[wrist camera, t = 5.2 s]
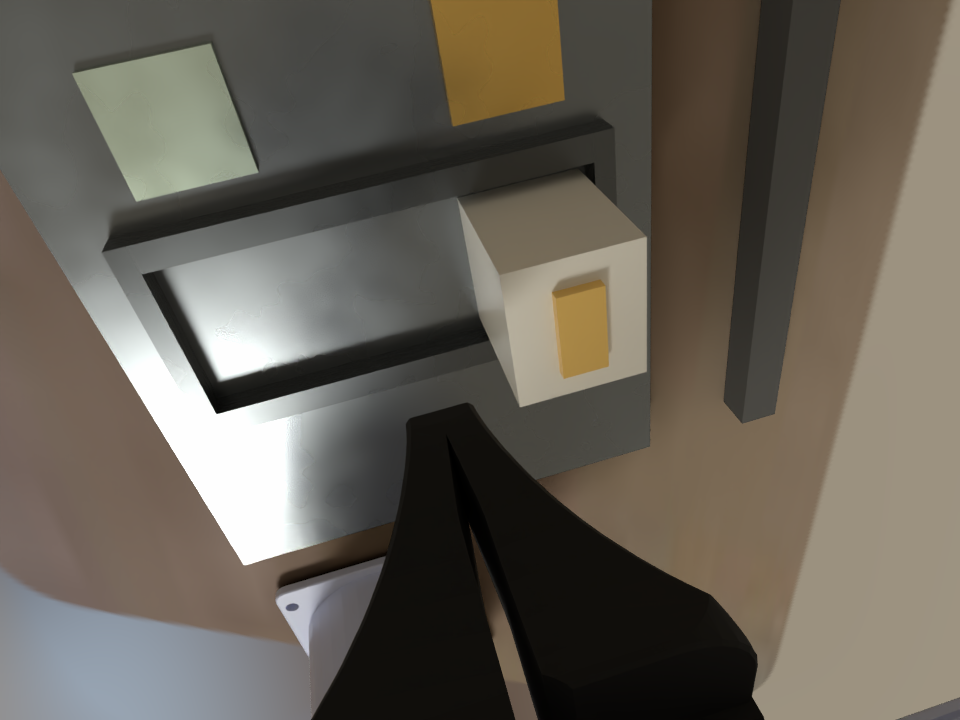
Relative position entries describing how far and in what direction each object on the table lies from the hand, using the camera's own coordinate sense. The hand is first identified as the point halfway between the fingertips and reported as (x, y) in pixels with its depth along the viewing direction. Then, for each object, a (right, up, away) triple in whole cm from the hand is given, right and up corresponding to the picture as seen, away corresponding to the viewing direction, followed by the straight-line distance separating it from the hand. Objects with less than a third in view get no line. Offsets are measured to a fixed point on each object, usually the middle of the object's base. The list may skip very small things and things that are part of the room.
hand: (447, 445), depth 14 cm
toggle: (+2, +5, +6) cm, 8 cm away
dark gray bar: (+10, +6, +9) cm, 15 cm away
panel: (-2, +5, +6) cm, 8 cm away
